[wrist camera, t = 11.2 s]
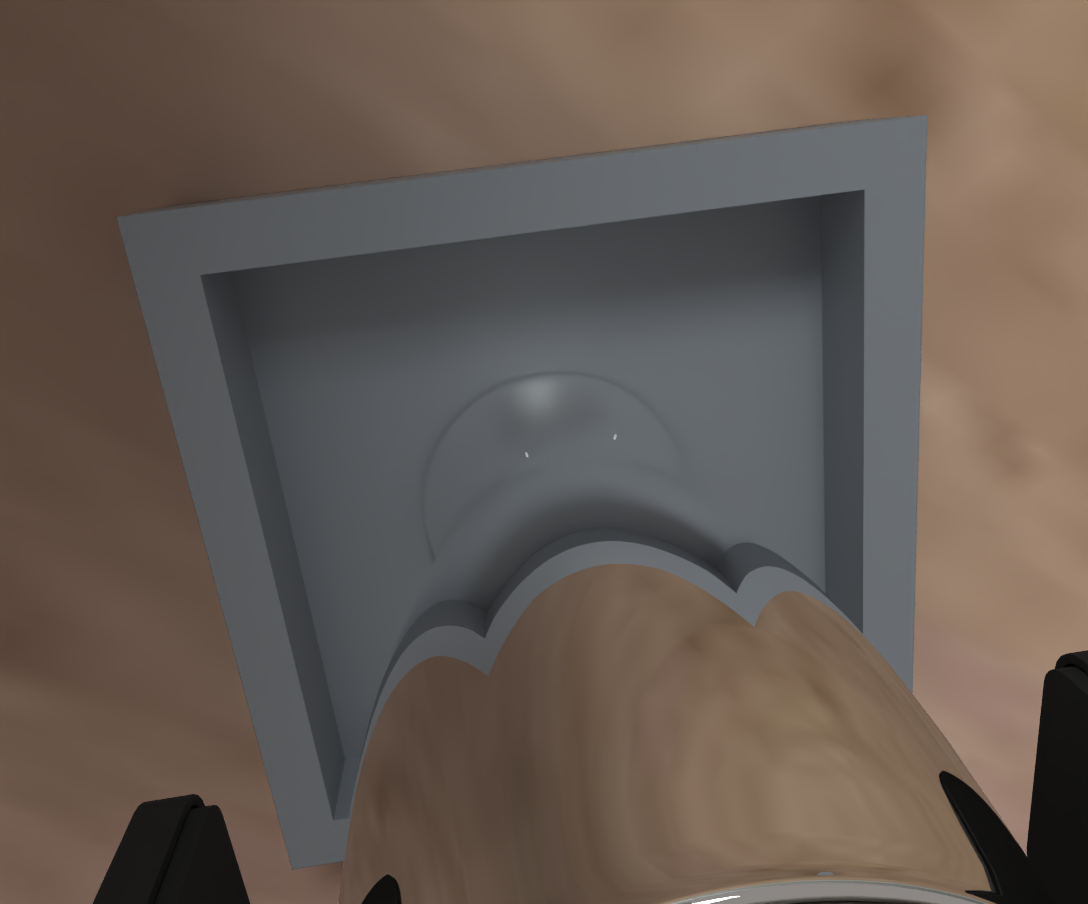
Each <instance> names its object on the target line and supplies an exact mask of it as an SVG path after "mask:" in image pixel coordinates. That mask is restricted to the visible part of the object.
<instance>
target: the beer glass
mask: <svg viewBox="0 0 1088 904" xmlns="http://www.w3.org/2000/svg"><path fill="white" fill-rule="evenodd" d="M423 508H424V519H425V525H426V530H427V534H428V537H429V541H430V544H431V547H432V550H433V553H434V555H435V558H436V559H435V561H434V563H433V565H432V567H431V569H430V571H429V573H428V575H427V577H426V579H425V581H424V583H423V585H422V587H421V589H420V591H419V593H418V595H417V597H416V599H415V601H414V603H413V605H412V607H411V610H410V612H409V614H408V616H407V618H406V620H405V622H404V624H403V626H402V629H401V631H400V633H399V635H398V638H397V640H396V643H395V646H394V648H393V651H392V654H391V656H390V659H389V662H388V664H387V667H386V670H385V673H384V675H383V678H382V681H381V683H380V686H379V689H378V692H377V694H376V697H375V700H374V703H373V706H372V710H371V713H370V717H369V721H368V726H367V730H366V735H365V740H364V744H363V749H362V754H361V758H360V763H359V768H358V772H357V777H356V782H355V786H354V791H353V796H352V800H351V807H350V813H349V821H348V829H347V837H346V845H345V854H344V862H343V870H342V878H341V886H340V894H339V903H338V904H1057V902H1056V901H1055V899H1054V898H1053V896H1052V895H1051V893H1050V892H1049V890H1048V889H1047V887H1046V886H1045V884H1044V883H1043V881H1042V879H1041V878H1040V876H1039V875H1038V873H1037V872H1036V870H1035V869H1034V867H1033V866H1032V864H1031V863H1030V861H1029V860H1028V858H1027V856H1026V855H1025V853H1024V852H1023V850H1022V849H1021V847H1020V846H1019V844H1018V843H1017V841H1016V840H1015V838H1014V836H1013V835H1012V833H1011V832H1010V830H1009V829H1008V827H1007V826H1006V824H1005V823H1004V821H1003V820H1002V818H1001V817H1000V815H999V814H998V813H997V811H996V810H995V808H994V807H993V805H992V804H991V802H990V801H989V799H988V798H987V797H986V795H985V794H984V792H983V791H982V789H981V788H980V786H979V785H978V783H977V782H976V781H975V779H974V778H973V776H972V775H971V773H970V772H969V770H968V769H967V767H966V766H965V765H964V763H963V762H962V760H961V759H960V757H959V756H958V754H957V753H956V751H955V750H954V749H953V747H952V746H951V744H950V743H949V741H948V740H947V739H946V737H945V736H944V734H943V733H942V732H941V730H940V729H939V728H938V727H937V725H936V724H935V723H934V721H933V720H932V719H931V717H930V716H929V715H928V714H927V712H926V711H925V710H924V708H923V707H922V706H921V704H920V703H919V702H918V700H917V699H916V698H915V697H914V695H913V694H912V693H911V691H910V690H909V689H908V687H907V686H906V685H905V683H904V682H903V681H902V680H901V678H900V677H899V676H898V674H897V673H896V672H895V670H894V669H893V668H892V667H891V665H890V664H889V663H888V662H887V660H886V659H885V658H884V657H883V655H882V654H881V653H880V652H879V651H878V650H877V649H876V648H875V647H874V646H873V644H872V643H871V642H870V641H869V640H868V639H867V638H866V637H865V636H864V635H863V634H862V632H861V631H860V630H859V629H858V628H857V627H856V626H855V625H854V624H853V623H852V622H851V620H850V619H849V618H848V617H847V616H846V615H845V614H844V613H843V612H842V611H841V610H840V608H839V607H838V606H837V605H836V604H835V603H834V602H833V601H832V600H831V599H830V597H829V596H828V595H827V594H826V593H825V592H824V591H823V590H822V589H821V588H820V587H819V586H818V585H816V584H815V583H814V582H813V581H812V580H811V579H809V578H808V577H807V576H806V575H805V574H803V573H802V572H801V571H800V570H799V569H797V568H796V567H795V566H794V565H792V564H791V563H790V562H789V561H788V560H786V559H785V558H784V557H783V556H781V555H780V554H779V553H778V552H777V551H775V550H774V549H773V548H772V547H770V546H769V545H768V544H767V543H766V542H764V541H763V540H762V539H760V538H759V537H758V536H756V535H755V534H754V533H752V532H751V531H749V530H748V529H746V528H745V527H743V526H742V525H740V524H739V523H737V522H736V521H734V520H733V519H732V518H730V517H729V516H727V515H726V514H724V513H723V512H721V511H720V510H718V509H717V508H715V507H714V506H712V505H711V504H709V503H708V502H706V501H704V500H703V499H701V498H700V497H698V496H697V495H695V494H693V493H692V492H690V491H689V490H688V488H687V482H686V477H685V472H684V468H683V465H682V461H681V458H680V455H679V453H678V450H677V448H676V445H675V443H674V441H673V440H672V438H671V436H670V434H669V433H668V431H667V429H666V428H665V426H664V425H663V423H662V422H661V421H660V420H659V418H658V417H657V416H656V415H655V414H654V413H653V411H652V410H651V409H650V408H648V407H647V406H646V405H645V404H644V403H643V402H642V401H640V400H639V399H638V398H636V397H635V396H634V395H632V394H631V393H629V392H627V391H626V390H624V389H622V388H620V387H618V386H616V385H614V384H612V383H609V382H607V381H604V380H601V379H598V378H594V377H590V376H585V375H580V374H572V373H545V374H537V375H531V376H527V377H523V378H519V379H516V380H513V381H510V382H507V383H505V384H503V385H500V386H498V387H496V388H494V389H492V390H491V391H489V392H487V393H486V394H484V395H482V396H481V397H480V398H478V399H477V400H475V401H474V402H473V403H472V404H470V405H469V406H468V407H467V408H466V409H465V410H464V411H463V412H462V413H461V414H460V415H459V416H458V417H457V418H456V419H455V420H454V421H453V423H452V424H451V425H450V426H449V427H448V429H447V430H446V432H445V433H444V434H443V436H442V437H441V439H440V441H439V442H438V444H437V446H436V448H435V450H434V452H433V455H432V457H431V460H430V463H429V466H428V469H427V473H426V477H425V483H424V493H423Z"/></svg>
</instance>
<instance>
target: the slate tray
mask: <svg viewBox="0 0 1088 904" xmlns="http://www.w3.org/2000/svg"><path fill="white" fill-rule="evenodd" d="M926 143H927V115H921V116H907V117H893V118H879V119H865V120H854V121H846V122H838V123H830V124H822V125H814V126H806V127H798V128H791V129H783V130H775V131H767V132H759V133H751V134H743V135H735V136H727V137H719V138H711V139H703V140H695V141H687V142H679V143H671V144H663V145H655V146H647V147H639V148H631V149H623V150H615V151H607V152H599V153H591V154H583V155H575V156H567V157H559V158H551V159H543V160H535V161H527V162H519V163H511V164H503V165H495V166H487V167H479V168H471V169H463V170H455V171H447V172H439V173H431V174H423V175H415V176H407V177H399V178H391V179H383V180H375V181H367V182H359V183H351V184H343V185H335V186H327V187H319V188H311V189H303V190H295V191H287V192H279V193H271V194H263V195H255V196H247V197H239V198H231V199H223V200H215V201H207V202H199V203H191V204H184V205H176V206H168V207H163V208H158V209H153V210H148V211H143V212H138V213H133V214H128V215H123V216H118V217H116V218H117V221H118V225H119V229H120V232H121V236H122V240H123V244H124V247H125V251H126V255H127V258H128V262H129V266H130V269H131V273H132V277H133V281H134V284H135V288H136V292H137V295H138V299H139V303H140V307H141V310H142V314H143V318H144V321H145V325H146V329H147V333H148V336H149V340H150V344H151V347H152V351H153V355H154V359H155V362H156V366H157V370H158V373H159V377H160V381H161V384H162V388H163V392H164V396H165V399H166V403H167V407H168V410H169V414H170V418H171V422H172V425H173V429H174V433H175V436H176V440H177V444H178V448H179V451H180V455H181V459H182V462H183V466H184V470H185V474H186V477H187V481H188V485H189V488H190V492H191V496H192V500H193V503H194V507H195V511H196V514H197V518H198V522H199V525H200V529H201V533H202V537H203V540H204V544H205V548H206V551H207V555H208V559H209V563H210V566H211V570H212V574H213V577H214V581H215V585H216V589H217V592H218V596H219V600H220V603H221V607H222V611H223V615H224V618H225V622H226V626H227V629H228V633H229V637H230V641H231V644H232V648H233V652H234V655H235V659H236V663H237V666H238V670H239V674H240V678H241V681H242V685H243V689H244V692H245V696H246V700H247V704H248V707H249V711H250V715H251V718H252V722H253V726H254V730H255V733H256V737H257V741H258V744H259V748H260V752H261V756H262V759H263V763H264V767H265V770H266V774H267V778H268V782H269V785H270V789H271V793H272V796H273V800H274V804H275V807H276V811H277V815H278V819H279V822H280V826H281V830H282V833H283V837H284V841H285V845H286V848H287V852H288V856H289V859H290V863H291V867H292V869H298V868H304V867H311V866H317V865H323V864H329V863H335V862H342V861H344V854H345V845H346V837H347V829H348V821H349V813H350V807H351V800H352V796H353V791H354V786H355V782H356V777H357V772H358V768H359V763H360V758H361V754H362V749H363V744H364V740H365V735H366V730H367V726H368V721H369V717H370V713H371V710H372V706H373V703H374V700H375V697H376V694H377V692H378V689H379V686H380V683H381V681H382V678H383V675H384V673H385V670H386V667H387V664H388V662H389V659H390V656H391V654H392V651H393V648H394V646H395V643H396V640H397V638H398V635H399V633H400V631H401V629H402V626H403V624H404V622H405V620H406V618H407V616H408V614H409V612H410V610H411V607H412V605H413V603H414V601H415V599H416V597H417V595H418V593H419V591H420V589H421V587H422V585H423V583H424V581H425V579H426V577H427V575H428V573H429V571H430V569H431V567H432V565H433V563H434V561H435V559H436V558H435V555H434V553H433V550H432V547H431V544H430V541H429V537H428V534H427V530H426V525H425V519H424V508H423V493H424V483H425V477H426V473H427V469H428V466H429V463H430V460H431V457H432V455H433V452H434V450H435V448H436V446H437V444H438V442H439V441H440V439H441V437H442V436H443V434H444V433H445V432H446V430H447V429H448V427H449V426H450V425H451V424H452V423H453V421H454V420H455V419H456V418H457V417H458V416H459V415H460V414H461V413H462V412H463V411H464V410H465V409H466V408H467V407H468V406H469V405H470V404H472V403H473V402H474V401H475V400H477V399H478V398H480V397H481V396H482V395H484V394H486V393H487V392H489V391H491V390H492V389H494V388H496V387H498V386H500V385H503V384H505V383H507V382H510V381H513V380H516V379H519V378H523V377H527V376H531V375H537V374H545V373H572V374H580V375H585V376H590V377H594V378H598V379H601V380H604V381H607V382H609V383H612V384H614V385H616V386H618V387H620V388H622V389H624V390H626V391H627V392H629V393H631V394H632V395H634V396H635V397H636V398H638V399H639V400H640V401H642V402H643V403H644V404H645V405H646V406H647V407H648V408H650V409H651V410H652V411H653V413H654V414H655V415H656V416H657V417H658V418H659V420H660V421H661V422H662V423H663V425H664V426H665V428H666V429H667V431H668V433H669V434H670V436H671V438H672V440H673V441H674V443H675V445H676V448H677V450H678V453H679V455H680V458H681V461H682V465H683V468H684V472H685V477H686V482H687V488H688V490H689V491H690V492H692V493H693V494H695V495H697V496H698V497H700V498H701V499H703V500H704V501H706V502H708V503H709V504H711V505H712V506H714V507H715V508H717V509H718V510H720V511H721V512H723V513H724V514H726V515H727V516H729V517H730V518H732V519H733V520H734V521H736V522H737V523H739V524H740V525H742V526H743V527H745V528H746V529H748V530H749V531H751V532H752V533H754V534H755V535H756V536H758V537H759V538H760V539H762V540H763V541H764V542H766V543H767V544H768V545H769V546H770V547H772V548H773V549H774V550H775V551H777V552H778V553H779V554H780V555H781V556H783V557H784V558H785V559H786V560H788V561H789V562H790V563H791V564H792V565H794V566H795V567H796V568H797V569H799V570H800V571H801V572H802V573H803V574H805V575H806V576H807V577H808V578H809V579H811V580H812V581H813V582H814V583H815V584H816V585H818V586H819V587H820V588H821V589H822V590H823V591H824V592H825V593H826V594H827V595H828V596H829V597H830V599H831V600H832V601H833V602H834V603H835V604H836V605H837V606H838V607H839V608H840V610H841V611H842V612H843V613H844V614H845V615H846V616H847V617H848V618H849V619H850V620H851V622H852V623H853V624H854V625H855V626H856V627H857V628H858V629H859V630H860V631H861V632H862V634H863V635H864V636H865V637H866V638H867V639H868V640H869V641H870V642H871V643H872V644H873V646H874V647H875V648H876V649H877V650H878V651H879V652H880V653H881V654H882V655H883V657H884V658H885V659H886V660H887V662H888V663H889V664H890V665H891V667H892V668H893V669H894V670H895V672H896V673H897V674H898V676H899V677H900V678H901V680H902V681H903V682H904V683H905V685H906V686H907V687H908V689H909V690H910V691H911V693H912V692H913V653H914V614H915V575H916V535H917V496H918V457H919V418H920V378H921V339H922V300H923V261H924V221H925V182H926Z"/></svg>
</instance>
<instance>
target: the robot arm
mask: <svg viewBox="0 0 1088 904" xmlns="http://www.w3.org/2000/svg"><path fill="white" fill-rule="evenodd" d="M1027 857H1028V860H1029V861H1030V863H1031V864H1032V866H1033V867H1034V869H1035V870H1036V872H1037V873H1038V875H1039V876H1040V878H1041V879H1042V881H1043V883H1044V884H1045V886H1046V887H1047V889H1048V890H1049V892H1050V893H1051V895H1052V896H1053V898H1054V899H1055V901H1056V902H1057V904H1088V650H1087V651H1081V652H1075V653H1068V654H1065V655H1062V656H1061V657H1060V658H1059V659H1058V661H1057V662H1056V666H1055V669H1053V670H1050V671H1048V673H1047V674H1046V676H1045V680H1044V686H1043V696H1042V706H1041V715H1040V725H1039V735H1038V744H1037V754H1036V764H1035V773H1034V783H1033V792H1032V802H1031V812H1030V821H1029V831H1028V841H1027ZM93 904H250V902H249V899H248V895H247V892H246V889H245V886H244V882H243V879H242V876H241V873H240V870H239V866H238V863H237V860H236V857H235V853H234V850H233V847H232V844H231V841H230V837H229V834H228V831H227V828H226V824H225V821H224V818H223V815H222V812H221V810H220V808H219V807H218V806H217V805H211V806H205V805H204V803H203V800H202V799H201V798H200V797H199V796H198V795H195V794H192V795H186V796H179V797H173V798H167V799H161V800H155V801H148V802H143V803H142V804H140V805H139V806H138V808H137V809H136V811H135V812H134V814H133V816H132V819H131V821H130V823H129V825H128V827H127V830H126V832H125V834H124V836H123V838H122V841H121V843H120V845H119V847H118V849H117V851H116V854H115V856H114V858H113V860H112V862H111V865H110V867H109V869H108V871H107V873H106V876H105V878H104V880H103V882H102V884H101V887H100V889H99V891H98V893H97V895H96V897H95V900H94V902H93Z"/></svg>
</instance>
